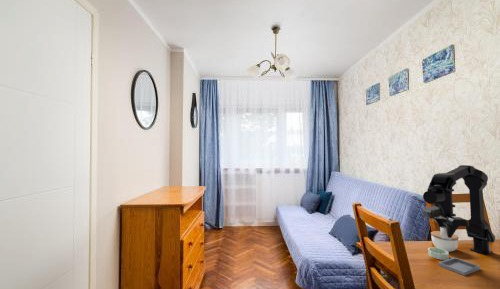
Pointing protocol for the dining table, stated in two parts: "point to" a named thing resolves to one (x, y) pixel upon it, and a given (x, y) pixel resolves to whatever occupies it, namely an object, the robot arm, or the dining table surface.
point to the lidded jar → (444, 241)
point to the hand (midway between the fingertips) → (446, 235)
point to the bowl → (438, 253)
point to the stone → (444, 233)
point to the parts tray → (459, 266)
